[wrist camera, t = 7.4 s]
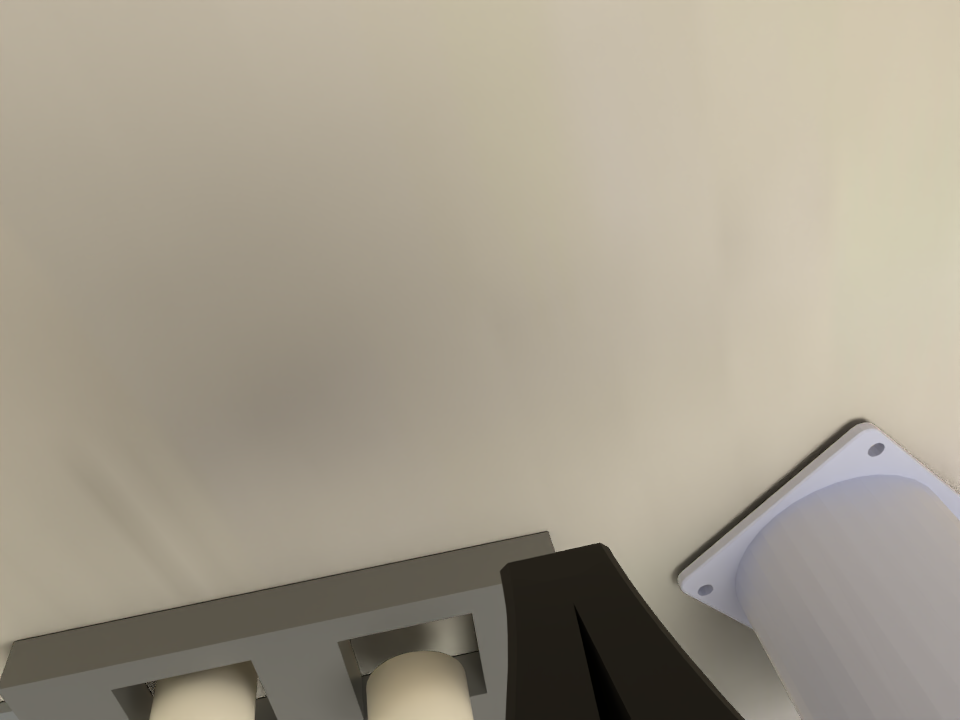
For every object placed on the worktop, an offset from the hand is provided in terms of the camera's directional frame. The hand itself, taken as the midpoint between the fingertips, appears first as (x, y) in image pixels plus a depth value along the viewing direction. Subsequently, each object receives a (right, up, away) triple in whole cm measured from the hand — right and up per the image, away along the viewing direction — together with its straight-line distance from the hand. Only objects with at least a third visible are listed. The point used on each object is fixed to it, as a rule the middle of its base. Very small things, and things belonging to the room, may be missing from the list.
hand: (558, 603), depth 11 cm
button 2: (-10, -7, +15) cm, 19 cm away
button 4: (-3, -7, +14) cm, 16 cm away
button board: (-6, -8, +17) cm, 20 cm away
